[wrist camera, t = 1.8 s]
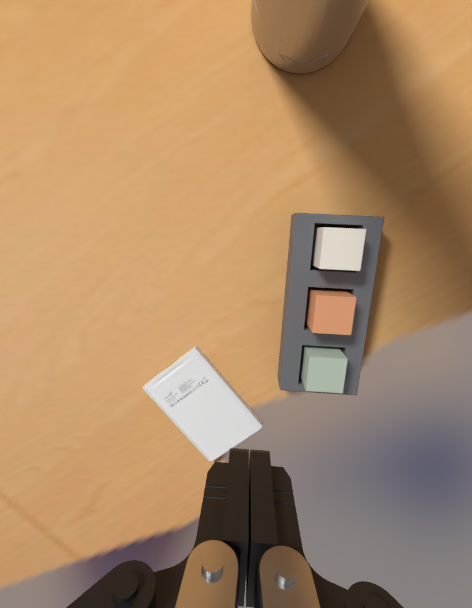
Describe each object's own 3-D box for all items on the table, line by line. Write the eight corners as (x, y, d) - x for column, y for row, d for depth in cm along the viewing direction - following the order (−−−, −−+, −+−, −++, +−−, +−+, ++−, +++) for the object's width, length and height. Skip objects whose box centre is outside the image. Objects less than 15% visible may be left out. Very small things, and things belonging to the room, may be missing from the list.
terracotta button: (309, 288, 31) (316, 295, 27) (344, 290, 31) (356, 297, 27) (305, 322, 32) (312, 332, 28) (340, 324, 31) (351, 335, 28)
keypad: (291, 214, 31) (296, 212, 28) (371, 218, 30) (384, 217, 28) (277, 377, 35) (280, 390, 32) (347, 381, 35) (356, 395, 32)
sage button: (303, 344, 32) (309, 356, 29) (337, 346, 32) (347, 359, 29) (300, 375, 33) (305, 390, 30) (333, 377, 33) (342, 393, 30)
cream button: (315, 227, 29) (323, 227, 26) (353, 229, 29) (366, 229, 26) (311, 264, 30) (319, 268, 27) (347, 266, 30) (360, 270, 27)
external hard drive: (211, 454, 38) (145, 382, 36) (262, 419, 37) (197, 343, 35) (209, 463, 37) (140, 389, 35) (263, 427, 35) (194, 348, 33)
